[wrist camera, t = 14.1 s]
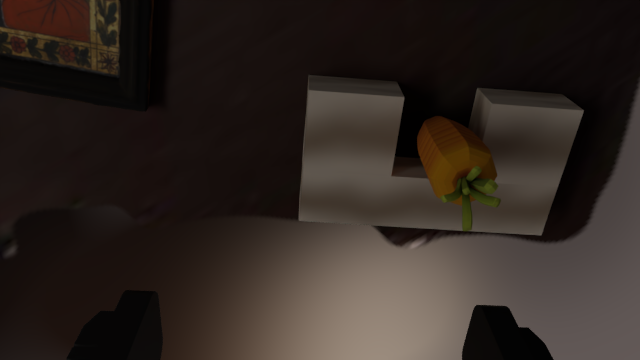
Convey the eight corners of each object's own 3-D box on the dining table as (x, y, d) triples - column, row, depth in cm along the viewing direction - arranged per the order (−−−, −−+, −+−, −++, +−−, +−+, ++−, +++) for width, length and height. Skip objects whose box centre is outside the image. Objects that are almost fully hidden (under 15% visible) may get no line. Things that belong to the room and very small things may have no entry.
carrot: (426, 158, 47) (477, 254, 34) (390, 123, 46) (428, 210, 32) (469, 121, 46) (539, 206, 33) (433, 83, 44) (491, 157, 31)
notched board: (308, 75, 44) (308, 90, 40) (562, 94, 45) (583, 110, 41) (299, 198, 49) (298, 220, 46) (524, 212, 50) (541, 235, 47)
